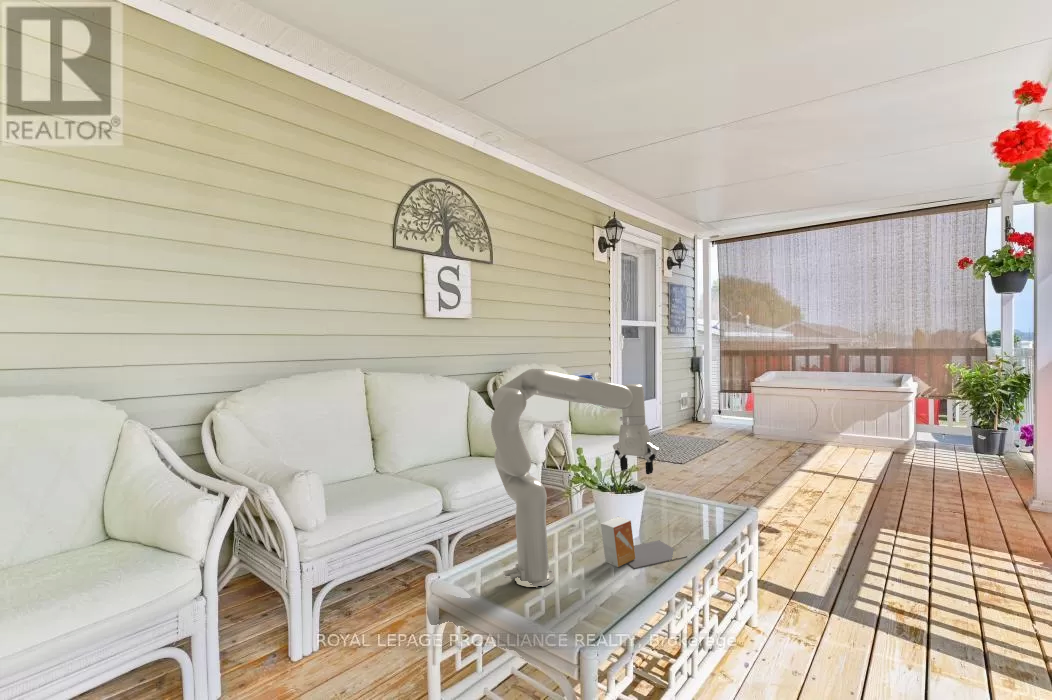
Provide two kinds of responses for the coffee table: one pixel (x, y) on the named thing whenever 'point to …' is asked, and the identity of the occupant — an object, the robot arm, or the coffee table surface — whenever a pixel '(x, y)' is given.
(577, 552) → the coffee table surface
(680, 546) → the coffee table surface
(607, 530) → the small box
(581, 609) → the coffee table surface
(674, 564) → the coffee table surface
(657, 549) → the mat
